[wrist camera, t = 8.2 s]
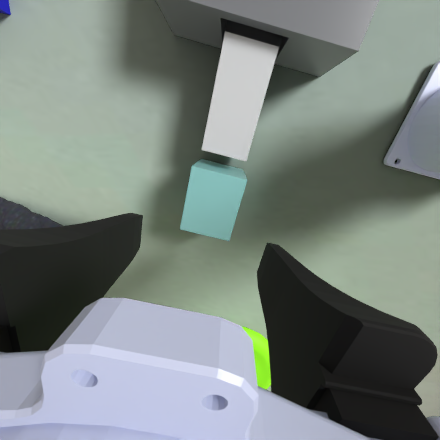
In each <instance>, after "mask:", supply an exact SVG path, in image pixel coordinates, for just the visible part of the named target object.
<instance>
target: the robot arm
mask: <svg viewBox="0 0 440 440" xmlns="http://www.w3.org/2000/svg"><path fill="white" fill-rule="evenodd" d="M396 159H397V162H396V163H394V162H395V160H396ZM384 164H385V165H388V166H391V167H395V168H399V169H402V170H406V171H410V172H413V173H417V174H421V175H425V176H428V177H432V178H436V179H439V180H440V61H439V62H437V63H435V64H434V66H433V67H432V69H431V71H430V73H429V75H428V77H427V79H426V80H425V82H424V84H423V86H422V88H421V90H420V92H419V94H418V96H417V97H416V99H415V101H414V103H413V105H412V107H411V109H410V111H409V113H408V115H407V116H406V118H405V120H404V122H403V124H402V126H401V128H400V130H399V132H398V133H397V135H396V137H395V139H394V141H393V143H392V145H391V147H390V149H389V151H388V152H387V154H386V156H385V158H384ZM142 218H143V215H139V214H134V213H128V214H122V215H118V216H114V217H109V218H105V219H101V220H96V221H91V222H87V223H82V224H76V225H69V226H61V227H52V228H37V229H0V440H440V416H431V417H427V418H426V417H425V416H424V415H423V413H422V412H421V410H420V409H419V407H418V406H417V405H421V404H422V399H421V398H420V397H419V395H418V394H417V393H416V391H415V390H414V388H415V387H416V386H417V385H418V384H419V383H420V382H421V381H422V380H423V379H424V377H425V376H426V375H427V374H428V373H429V372H430V371H431V369H432V368H433V367H434V365H435V363H436V359H437V348H436V346H435V345H434V343H433V342H432V341H431V340H430V339H429V338H428V337H427V336H426V335H425V334H424V333H423V332H422V331H421V330H420V329H419V328H418V327H417V326H416V325H414V324H411V323H409V322H406V321H404V320H401V319H399V318H396V317H394V316H391V315H389V314H386V313H384V312H382V311H379V310H377V309H375V308H373V307H371V306H369V305H366V304H364V303H362V302H360V301H358V300H356V299H354V298H352V297H351V296H349V295H347V294H345V293H343V292H341V291H340V290H338V289H336V288H335V287H333V286H331V285H330V284H328V283H327V282H325V281H324V280H322V279H321V278H319V277H318V276H316V275H315V274H314V273H312V272H311V271H310V270H308V269H307V268H306V267H305V266H303V265H302V264H301V263H300V262H298V261H297V260H296V259H295V258H294V257H293V256H291V255H290V254H289V253H288V252H287V251H285V250H284V249H283V248H282V247H280V246H279V245H276V244H271V243H267V245H266V248H265V250H264V253H263V256H262V259H261V262H260V265H259V268H258V271H257V280H258V289H259V294H260V299H261V304H262V308H263V313H264V318H265V323H266V329H267V338H268V348H269V360H270V374H271V392H270V391H268V390H266V389H264V388H262V387H259V386H258V385H257V377H256V368H255V359H254V350H253V341H252V339H251V338H250V337H249V335H248V334H247V333H246V331H245V330H244V329H243V328H242V326H240V325H238V324H235V323H233V322H231V321H228V320H226V319H224V318H221V317H217V316H212V315H207V314H202V313H197V312H192V311H187V310H183V309H178V308H173V307H168V306H163V305H158V304H153V303H148V302H143V301H138V300H133V299H128V298H103V296H104V295H105V294H106V292H107V291H108V290H109V288H110V287H111V286H112V285H113V284H114V282H115V281H116V280H117V279H118V277H119V276H120V275H121V274H122V273H123V271H124V270H125V269H126V268H127V266H128V265H129V264H130V263H131V261H132V260H133V258H134V257H135V255H136V253H137V252H138V250H139V248H140V242H141V230H142Z"/></svg>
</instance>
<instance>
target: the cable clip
mask: <svg viewBox="0 0 440 440" xmlns="http://www.w3.org/2000/svg"><path fill="white" fill-rule="evenodd" d="M0 13H4V14H9V15H11V13H10V7H9V1H8V0H0Z"/></svg>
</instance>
